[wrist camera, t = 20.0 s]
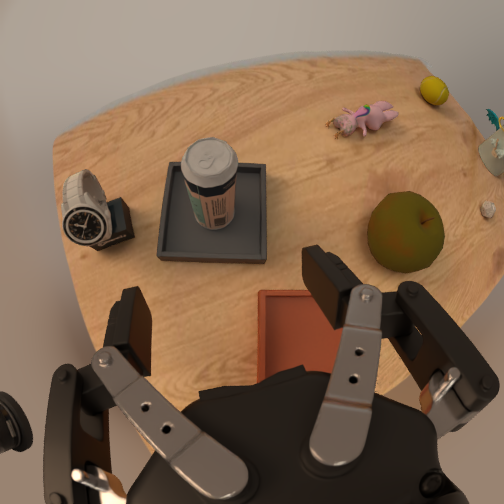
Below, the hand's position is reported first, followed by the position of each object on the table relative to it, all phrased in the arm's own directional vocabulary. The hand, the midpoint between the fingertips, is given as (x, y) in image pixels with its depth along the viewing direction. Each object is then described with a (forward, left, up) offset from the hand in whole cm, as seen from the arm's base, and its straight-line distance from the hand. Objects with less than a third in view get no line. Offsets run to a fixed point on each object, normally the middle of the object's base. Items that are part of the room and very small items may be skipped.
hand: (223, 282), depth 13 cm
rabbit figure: (+21, +29, -19) cm, 40 cm away
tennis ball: (+43, +44, -19) cm, 64 cm away
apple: (+21, +8, -19) cm, 29 cm away
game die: (+49, +16, -19) cm, 55 cm away
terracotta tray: (+9, -4, -18) cm, 21 cm away
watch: (-15, +9, -19) cm, 25 cm away
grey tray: (-2, +11, -18) cm, 21 cm away
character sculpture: (+60, +31, -19) cm, 69 cm away
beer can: (-2, +11, -18) cm, 21 cm away
